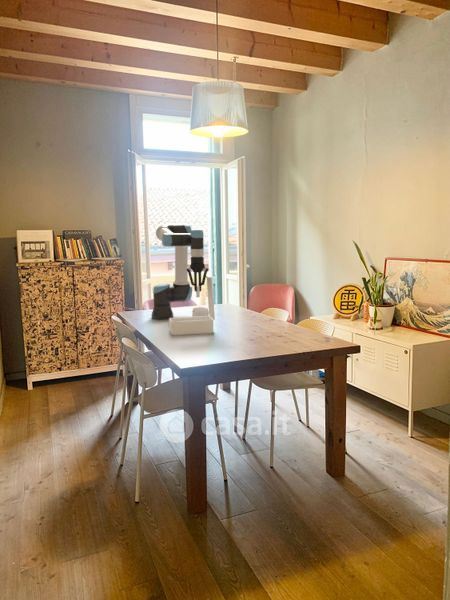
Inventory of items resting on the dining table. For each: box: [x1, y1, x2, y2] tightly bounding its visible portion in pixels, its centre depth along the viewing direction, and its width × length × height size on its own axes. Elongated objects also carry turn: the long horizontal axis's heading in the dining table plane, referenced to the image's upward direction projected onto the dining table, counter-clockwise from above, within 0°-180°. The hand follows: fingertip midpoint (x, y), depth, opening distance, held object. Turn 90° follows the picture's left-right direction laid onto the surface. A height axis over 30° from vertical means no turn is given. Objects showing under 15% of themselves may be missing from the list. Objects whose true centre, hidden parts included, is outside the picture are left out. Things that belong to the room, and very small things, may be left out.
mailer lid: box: [206, 274, 216, 321], centre depth 261 cm, size 13×25×2 cm
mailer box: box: [168, 316, 214, 337], centre depth 261 cm, size 13×24×8 cm, turn 104°
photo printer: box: [191, 306, 210, 317], centre depth 277 cm, size 10×4×12 cm, turn 85°
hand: (198, 297), depth 259 cm, fingers closed
